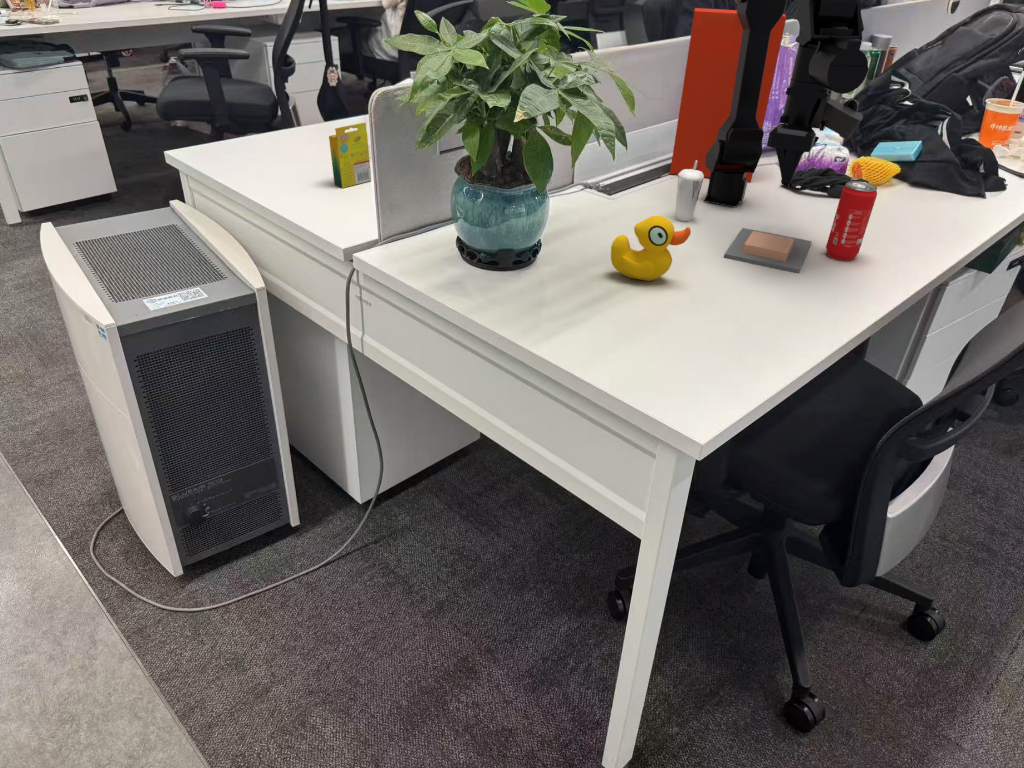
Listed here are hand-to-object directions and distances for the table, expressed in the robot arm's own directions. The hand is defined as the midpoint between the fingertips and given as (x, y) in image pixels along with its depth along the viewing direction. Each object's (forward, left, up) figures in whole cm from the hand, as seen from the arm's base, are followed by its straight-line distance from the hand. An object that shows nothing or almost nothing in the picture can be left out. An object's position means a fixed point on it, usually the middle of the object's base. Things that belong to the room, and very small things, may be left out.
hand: (786, 182), depth 117 cm
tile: (0, +1, -10) cm, 10 cm away
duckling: (-15, -23, -12) cm, 30 cm away
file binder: (-20, +38, -12) cm, 45 cm away
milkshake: (-17, +7, -12) cm, 22 cm away
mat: (0, -1, -12) cm, 12 cm away
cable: (+3, +41, -12) cm, 43 cm away
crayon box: (-81, -10, -12) cm, 83 cm away
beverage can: (+11, +4, -12) cm, 16 cm away
